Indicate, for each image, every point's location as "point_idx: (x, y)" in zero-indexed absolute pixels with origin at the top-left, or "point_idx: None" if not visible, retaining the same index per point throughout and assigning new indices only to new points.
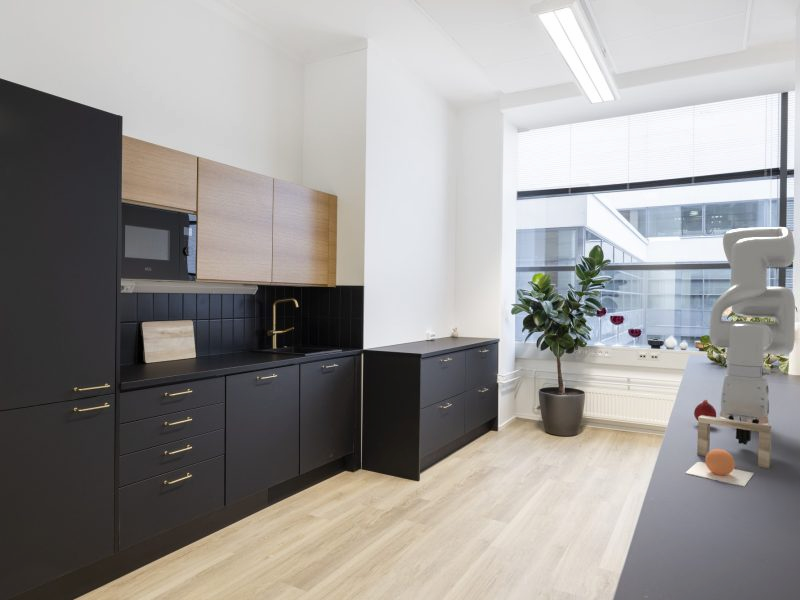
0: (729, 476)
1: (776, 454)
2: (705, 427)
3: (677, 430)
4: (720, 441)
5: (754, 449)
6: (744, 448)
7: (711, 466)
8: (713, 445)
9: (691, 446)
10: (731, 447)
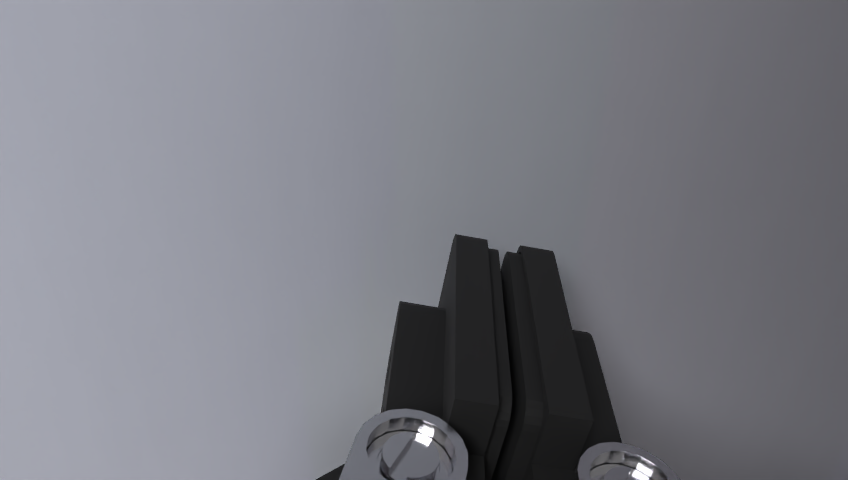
0: None
1: (843, 303)
2: None
3: None
4: (179, 11)
5: (621, 211)
6: (500, 234)
7: None
8: (159, 302)
9: (3, 457)
10: (352, 276)
